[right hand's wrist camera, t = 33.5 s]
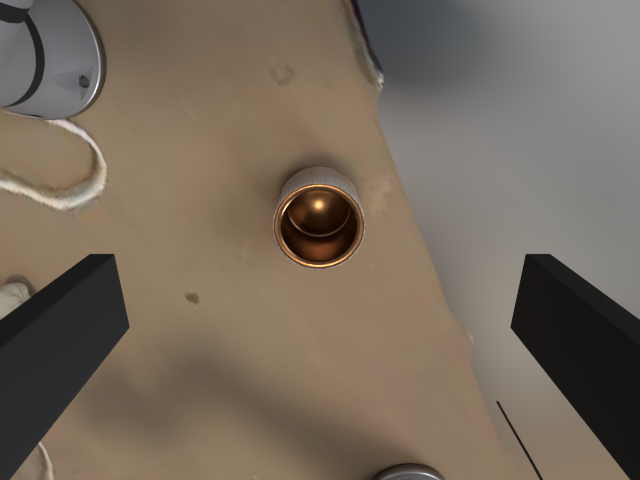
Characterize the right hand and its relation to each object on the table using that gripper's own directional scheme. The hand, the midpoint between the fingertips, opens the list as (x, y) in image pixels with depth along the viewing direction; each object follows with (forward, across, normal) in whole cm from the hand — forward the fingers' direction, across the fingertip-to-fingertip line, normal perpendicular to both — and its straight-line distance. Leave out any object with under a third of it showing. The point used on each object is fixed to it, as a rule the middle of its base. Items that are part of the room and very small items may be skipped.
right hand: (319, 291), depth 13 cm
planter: (+41, 0, -9) cm, 42 cm away
